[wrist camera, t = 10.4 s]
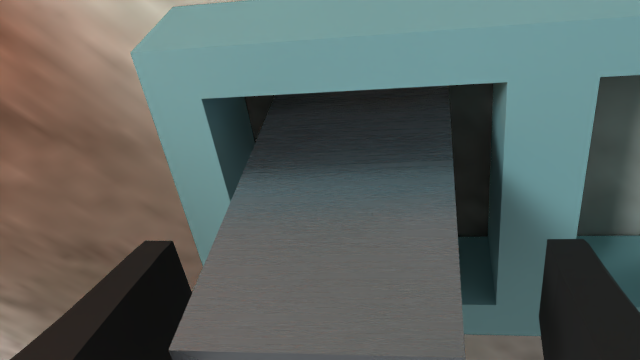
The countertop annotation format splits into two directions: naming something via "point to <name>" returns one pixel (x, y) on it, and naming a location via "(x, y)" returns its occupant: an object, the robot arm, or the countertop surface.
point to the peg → (337, 237)
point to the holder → (404, 72)
